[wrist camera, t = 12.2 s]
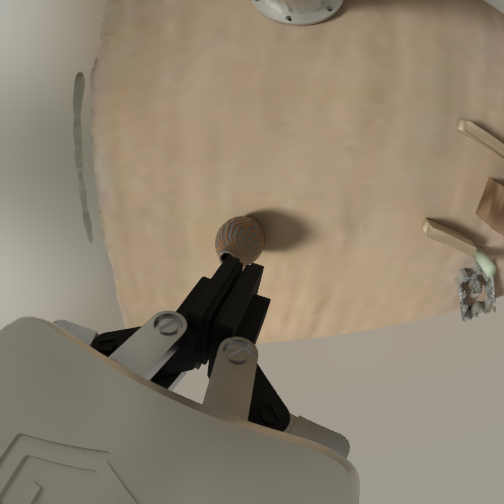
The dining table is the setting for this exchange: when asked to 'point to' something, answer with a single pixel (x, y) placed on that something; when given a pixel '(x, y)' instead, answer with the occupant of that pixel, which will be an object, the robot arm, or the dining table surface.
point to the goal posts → (484, 262)
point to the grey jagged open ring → (475, 292)
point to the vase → (240, 240)
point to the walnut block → (492, 206)
